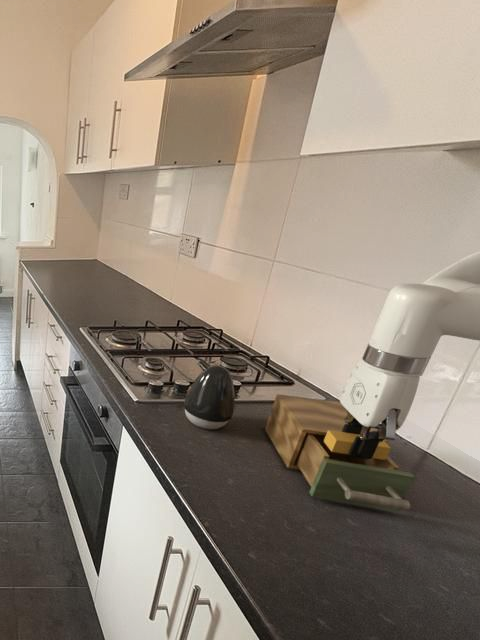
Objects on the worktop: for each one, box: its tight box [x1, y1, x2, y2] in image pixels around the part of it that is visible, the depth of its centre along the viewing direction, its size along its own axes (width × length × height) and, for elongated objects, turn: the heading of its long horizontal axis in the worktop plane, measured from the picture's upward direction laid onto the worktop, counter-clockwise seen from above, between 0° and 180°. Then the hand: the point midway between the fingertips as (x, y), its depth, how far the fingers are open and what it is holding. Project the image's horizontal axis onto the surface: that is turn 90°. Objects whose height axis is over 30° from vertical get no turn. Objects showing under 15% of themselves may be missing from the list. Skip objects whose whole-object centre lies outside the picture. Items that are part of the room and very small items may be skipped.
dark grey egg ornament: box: [183, 360, 235, 430], centre depth 97 cm, size 10×10×15 cm
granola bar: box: [324, 430, 392, 460], centre depth 75 cm, size 8×3×3 cm, turn 72°
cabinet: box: [264, 393, 389, 471], centre depth 87 cm, size 15×14×10 cm
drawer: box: [295, 433, 415, 513], centre depth 76 cm, size 18×12×8 cm
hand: (354, 449), depth 76 cm, fingers closed on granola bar, 3 cm apart
